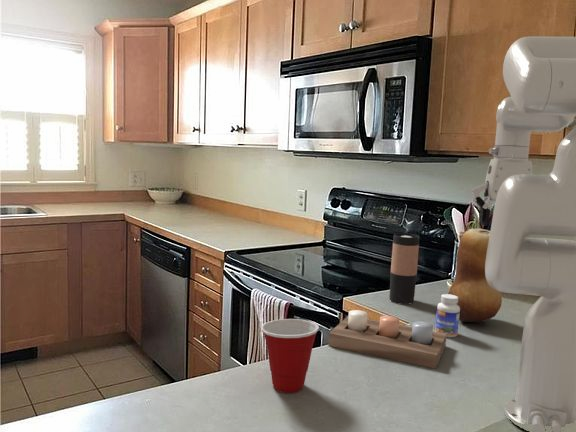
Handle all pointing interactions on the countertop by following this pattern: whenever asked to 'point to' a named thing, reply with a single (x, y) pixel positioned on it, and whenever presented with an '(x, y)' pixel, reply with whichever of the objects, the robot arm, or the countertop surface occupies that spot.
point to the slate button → (422, 333)
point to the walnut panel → (389, 344)
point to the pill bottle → (448, 315)
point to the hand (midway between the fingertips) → (503, 225)
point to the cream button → (357, 321)
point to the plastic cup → (289, 351)
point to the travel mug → (404, 267)
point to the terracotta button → (389, 326)
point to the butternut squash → (474, 279)
